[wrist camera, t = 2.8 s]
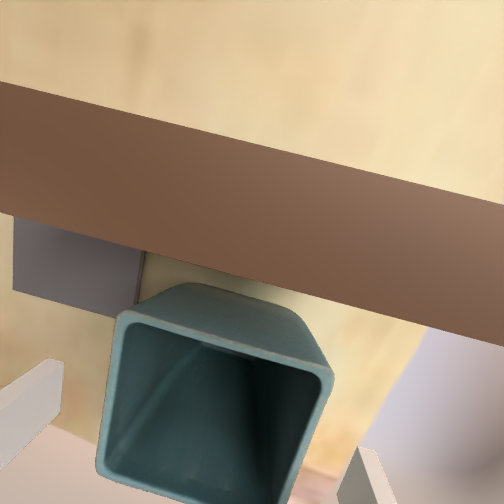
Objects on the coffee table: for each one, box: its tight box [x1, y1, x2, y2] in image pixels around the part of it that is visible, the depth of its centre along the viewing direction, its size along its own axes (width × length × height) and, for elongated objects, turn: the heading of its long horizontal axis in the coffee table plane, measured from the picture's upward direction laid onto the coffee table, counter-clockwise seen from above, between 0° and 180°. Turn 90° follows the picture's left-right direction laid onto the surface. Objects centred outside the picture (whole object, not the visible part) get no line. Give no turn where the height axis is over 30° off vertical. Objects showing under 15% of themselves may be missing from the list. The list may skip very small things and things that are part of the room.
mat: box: [13, 216, 145, 318], centre depth 18 cm, size 10×10×1 cm
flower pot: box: [95, 283, 335, 504], centre depth 14 cm, size 9×9×9 cm
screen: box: [0, 81, 504, 347], centre depth 10 cm, size 6×16×14 cm, turn 76°
